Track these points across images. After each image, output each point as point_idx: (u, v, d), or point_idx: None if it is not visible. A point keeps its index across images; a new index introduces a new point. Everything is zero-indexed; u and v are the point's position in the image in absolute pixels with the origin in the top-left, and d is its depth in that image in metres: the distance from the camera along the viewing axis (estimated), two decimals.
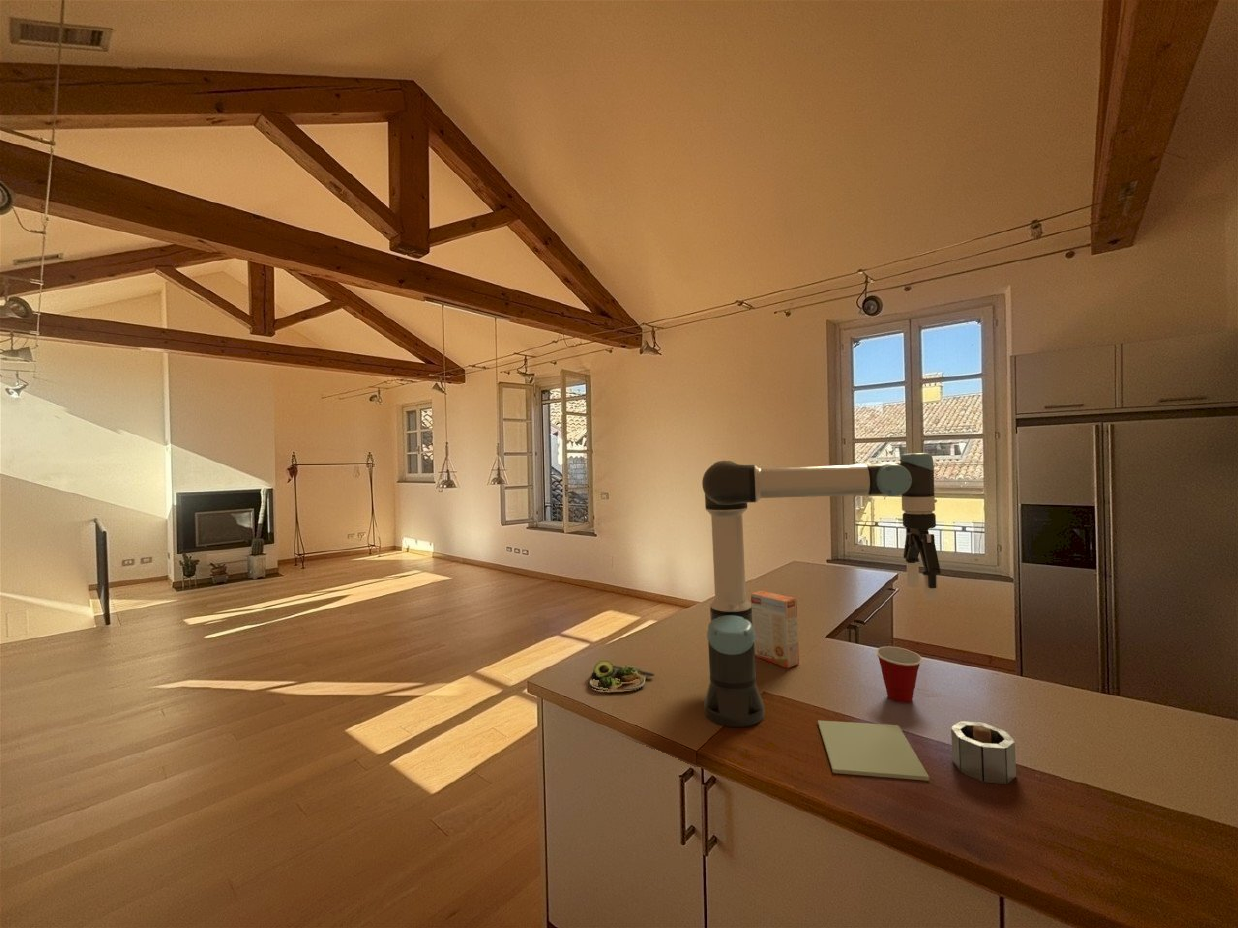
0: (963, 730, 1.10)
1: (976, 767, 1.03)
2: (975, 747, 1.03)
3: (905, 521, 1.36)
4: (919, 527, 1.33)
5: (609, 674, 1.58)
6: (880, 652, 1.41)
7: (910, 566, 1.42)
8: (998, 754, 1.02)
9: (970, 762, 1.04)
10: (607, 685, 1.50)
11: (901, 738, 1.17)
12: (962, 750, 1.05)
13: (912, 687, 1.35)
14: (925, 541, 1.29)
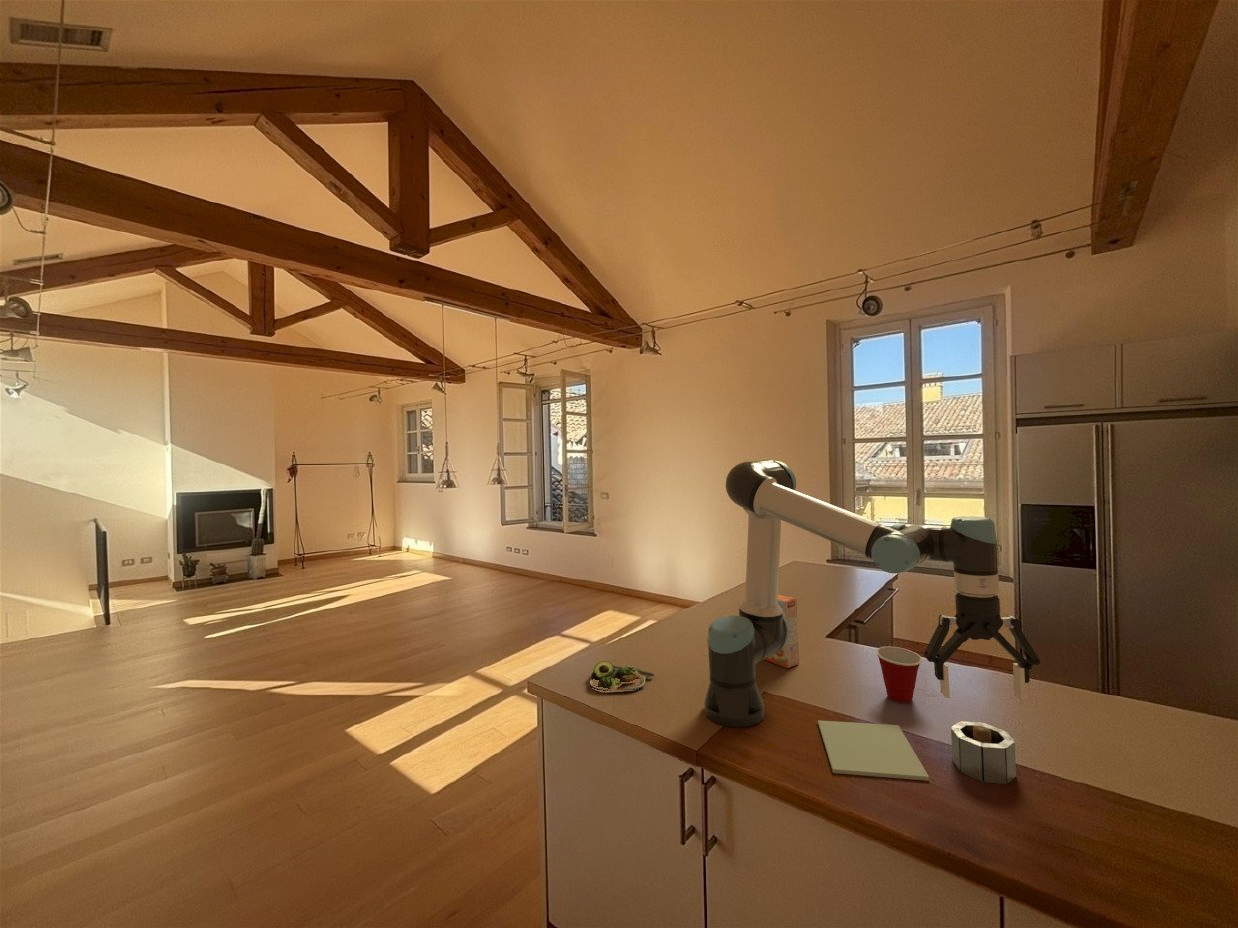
0: (963, 730, 1.10)
1: (976, 767, 1.03)
2: (975, 747, 1.03)
3: None
4: None
5: (609, 674, 1.58)
6: (880, 652, 1.41)
7: (1014, 668, 1.06)
8: (998, 754, 1.02)
9: (970, 762, 1.04)
10: (607, 685, 1.50)
11: (901, 738, 1.17)
12: (962, 750, 1.05)
13: (912, 687, 1.35)
14: (939, 622, 1.09)
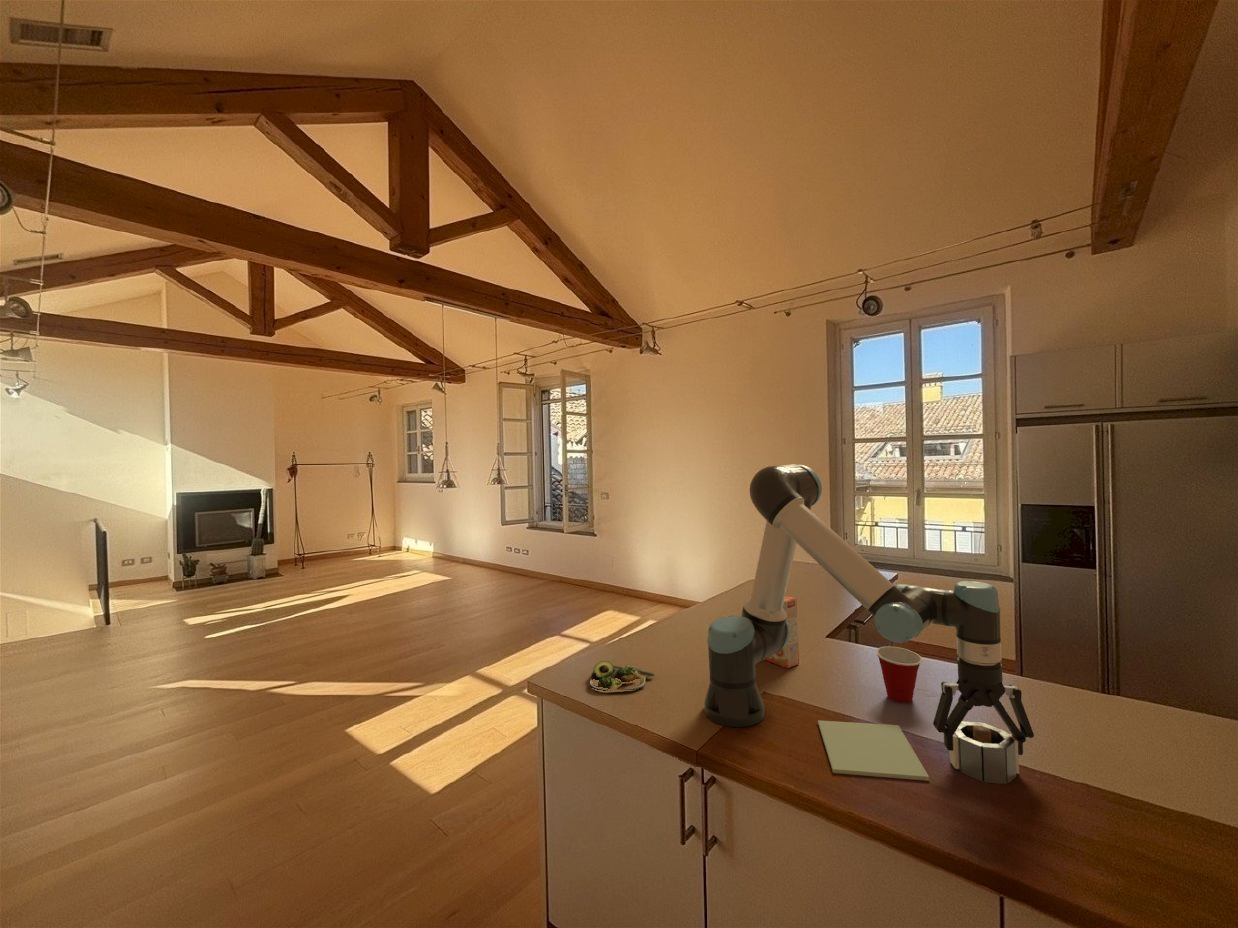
0: (963, 730, 1.10)
1: (976, 767, 1.03)
2: (975, 747, 1.03)
3: None
4: (958, 673, 1.08)
5: (609, 674, 1.58)
6: (880, 652, 1.41)
7: None
8: (998, 754, 1.02)
9: (970, 762, 1.04)
10: (607, 685, 1.50)
11: (901, 738, 1.17)
12: (962, 750, 1.05)
13: (912, 687, 1.35)
14: (942, 690, 1.09)
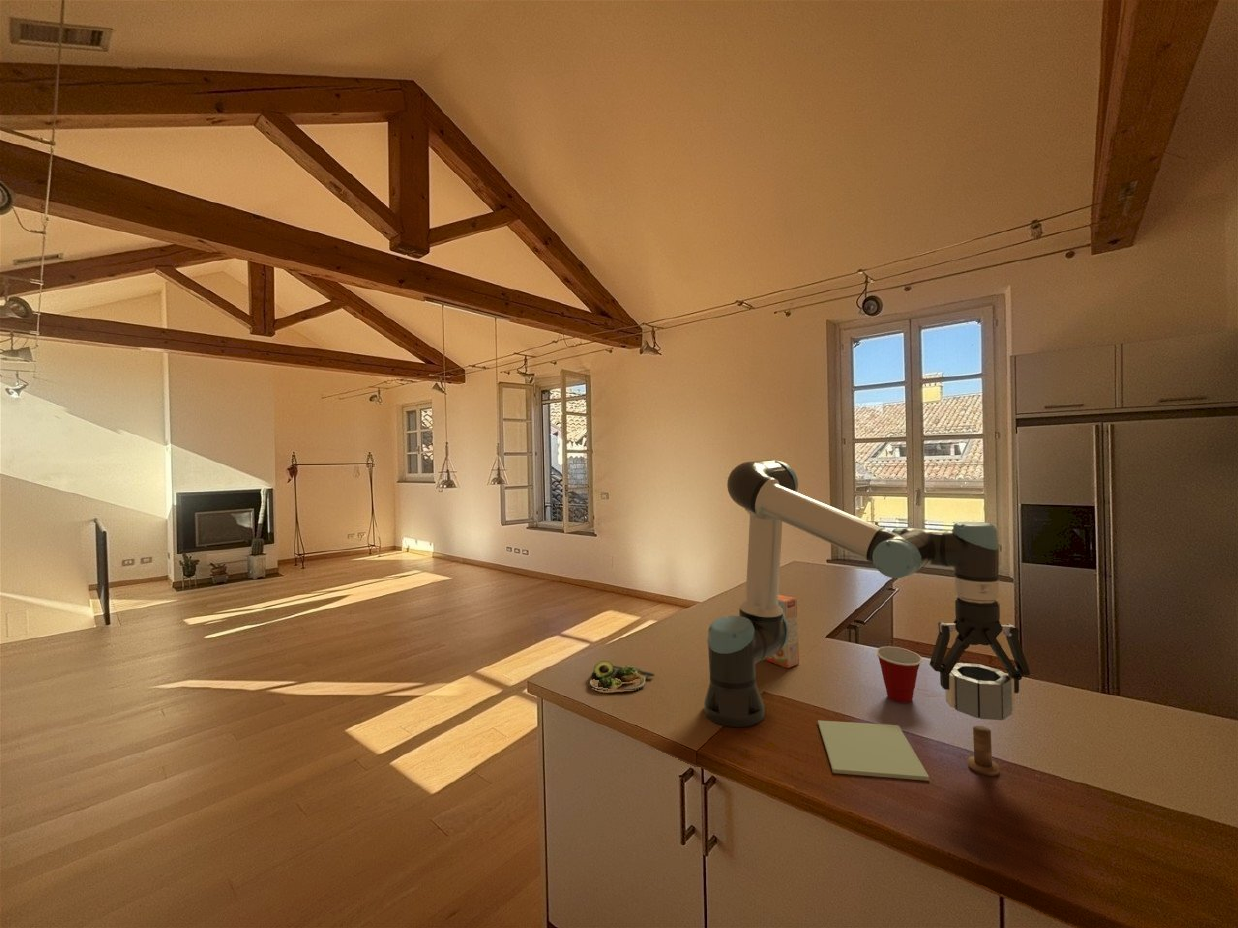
0: (960, 671, 1.10)
1: (972, 704, 1.03)
2: (972, 684, 1.03)
3: None
4: (955, 613, 1.08)
5: (609, 674, 1.58)
6: (880, 652, 1.41)
7: None
8: (994, 691, 1.02)
9: (966, 700, 1.04)
10: (607, 685, 1.50)
11: (901, 738, 1.17)
12: (958, 688, 1.05)
13: (912, 687, 1.35)
14: (939, 630, 1.09)
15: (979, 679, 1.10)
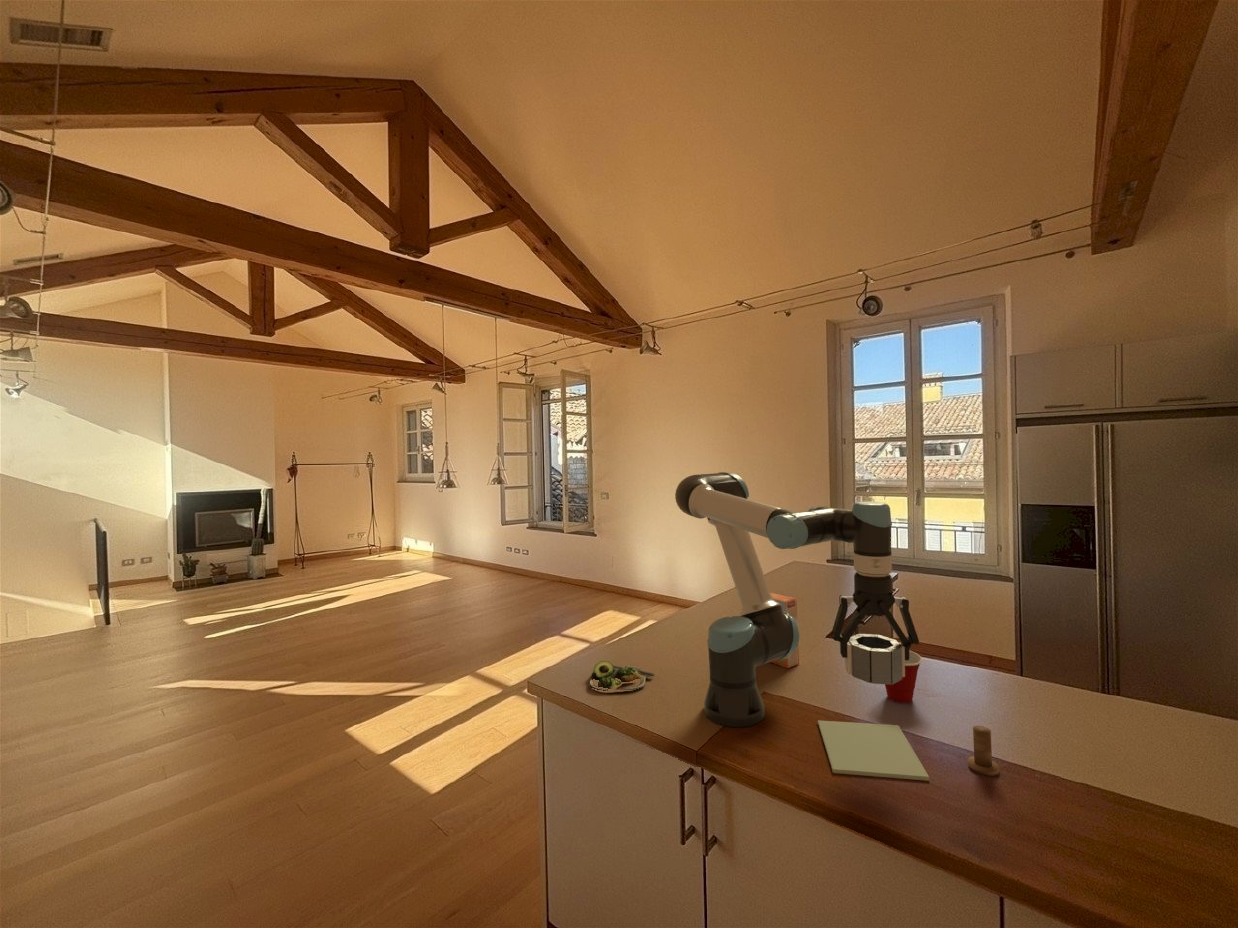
0: (859, 640, 1.17)
1: (865, 670, 1.11)
2: (865, 652, 1.11)
3: None
4: (854, 586, 1.16)
5: (609, 674, 1.58)
6: None
7: None
8: (884, 657, 1.09)
9: (861, 666, 1.12)
10: (607, 685, 1.50)
11: (901, 738, 1.17)
12: (854, 656, 1.13)
13: (912, 687, 1.35)
14: None
15: (877, 648, 1.18)
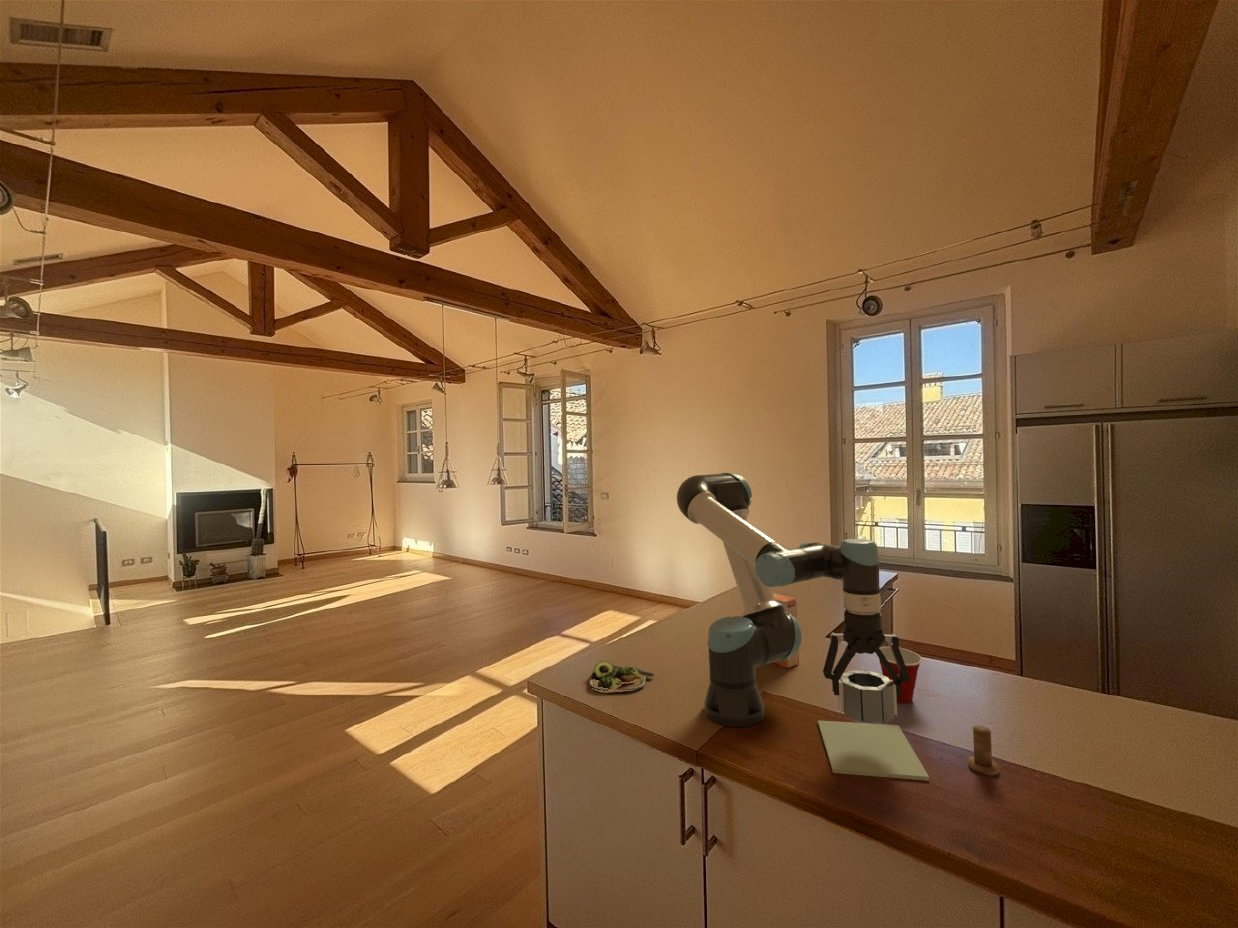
0: (851, 677, 1.18)
1: (857, 708, 1.11)
2: (856, 690, 1.11)
3: None
4: None
5: (609, 674, 1.58)
6: None
7: None
8: (875, 696, 1.10)
9: (852, 704, 1.12)
10: (607, 685, 1.50)
11: (901, 738, 1.17)
12: (846, 694, 1.14)
13: (912, 687, 1.35)
14: (830, 640, 1.17)
15: (869, 685, 1.18)
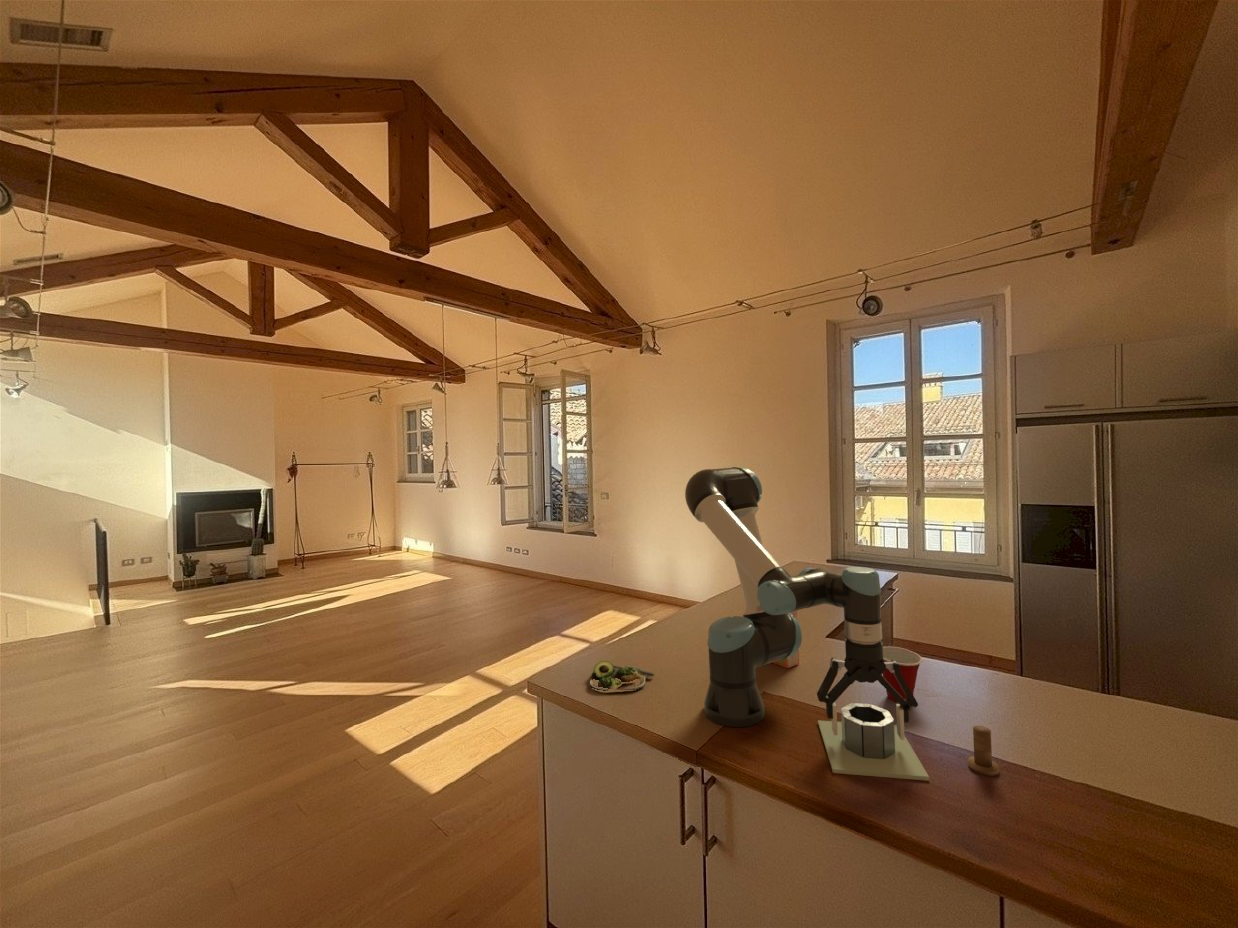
0: (852, 711, 1.18)
1: (858, 744, 1.12)
2: (857, 725, 1.12)
3: None
4: None
5: (609, 674, 1.58)
6: None
7: (897, 709, 1.14)
8: (876, 732, 1.10)
9: (853, 739, 1.13)
10: (607, 685, 1.50)
11: None
12: (847, 729, 1.14)
13: (912, 687, 1.35)
14: (830, 665, 1.17)
15: (870, 719, 1.18)
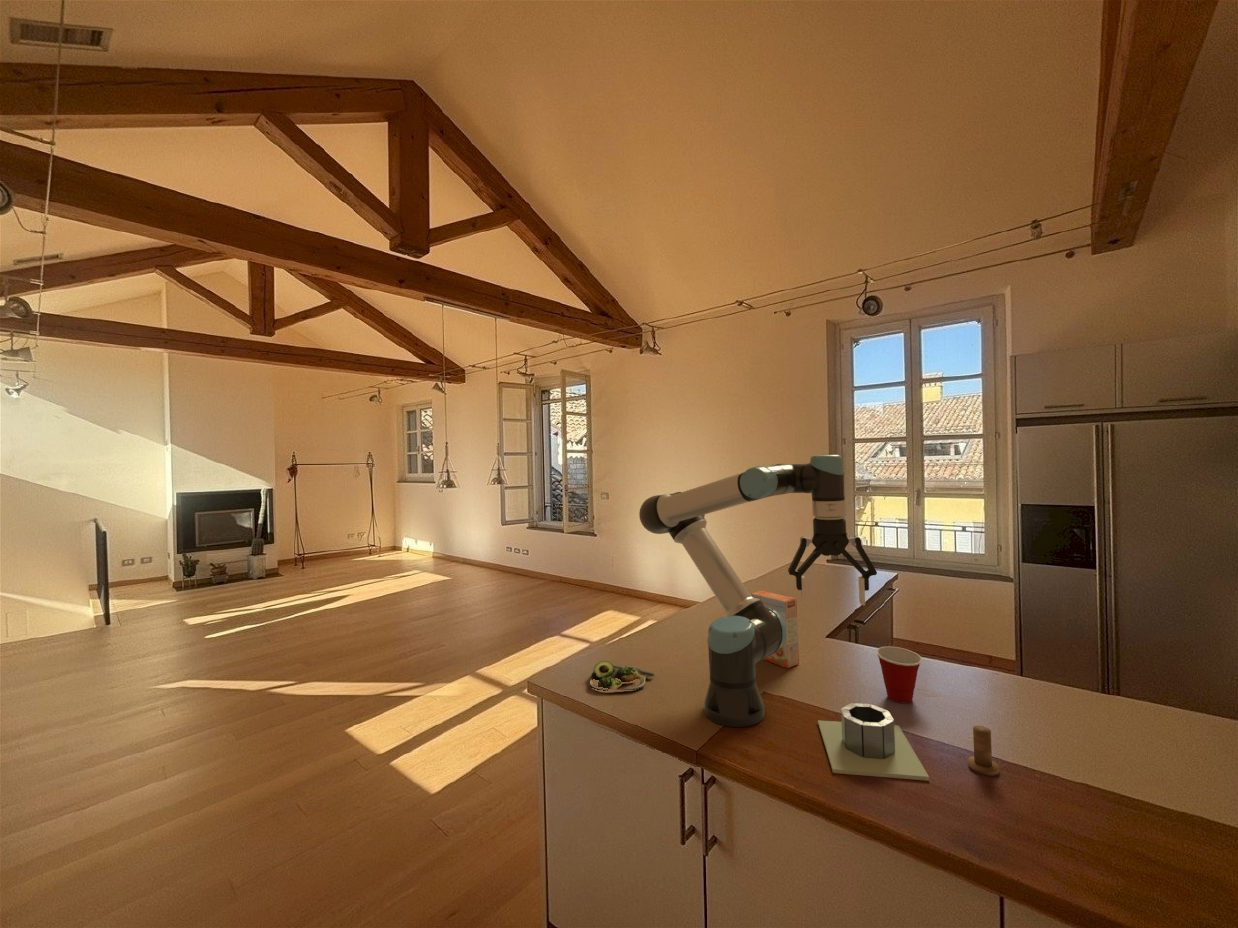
0: (852, 711, 1.18)
1: (858, 744, 1.12)
2: (857, 725, 1.12)
3: None
4: None
5: (609, 674, 1.58)
6: (880, 652, 1.41)
7: (859, 580, 1.28)
8: (876, 732, 1.10)
9: (853, 739, 1.13)
10: (607, 685, 1.50)
11: (901, 738, 1.17)
12: (847, 729, 1.14)
13: (912, 687, 1.35)
14: (800, 543, 1.31)
15: (870, 719, 1.18)
